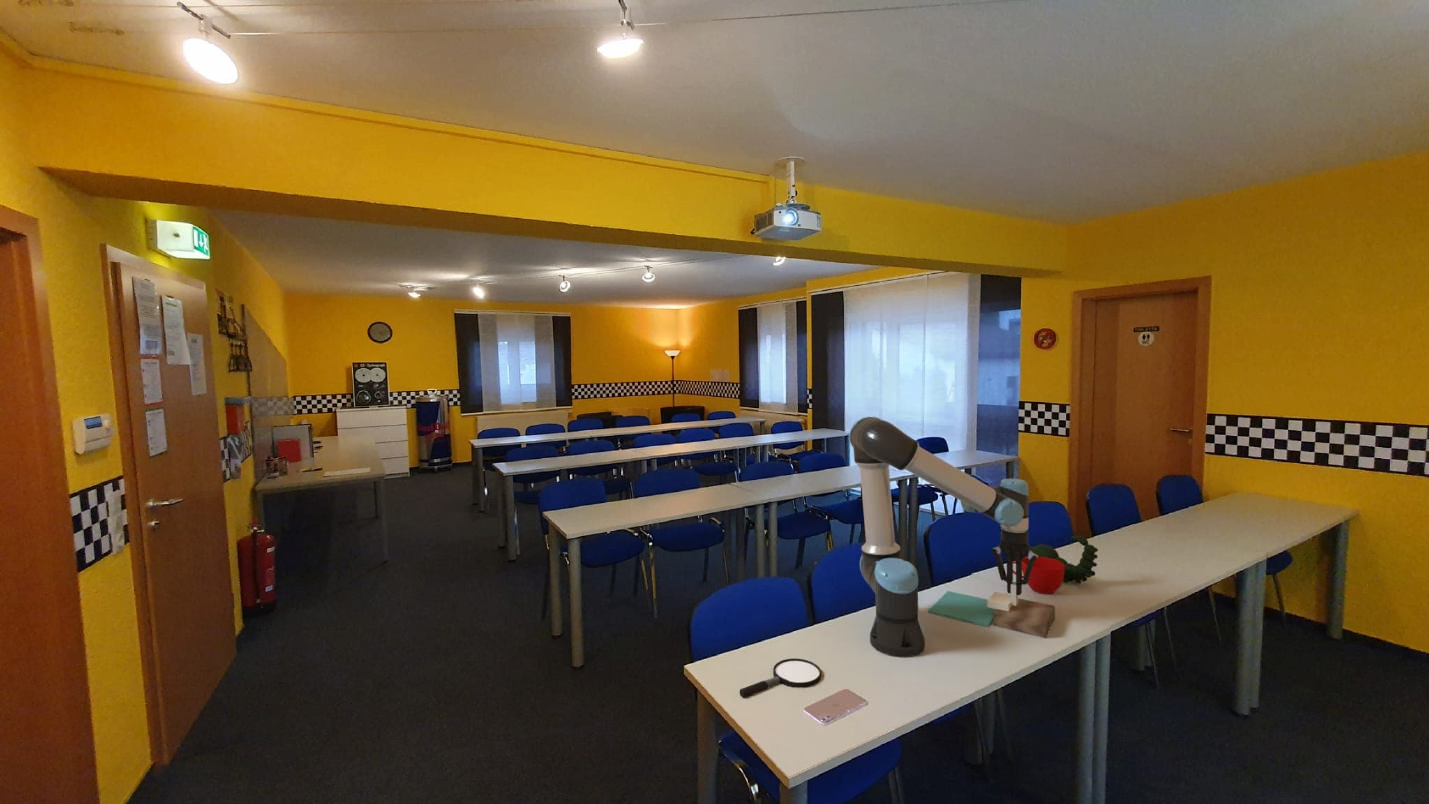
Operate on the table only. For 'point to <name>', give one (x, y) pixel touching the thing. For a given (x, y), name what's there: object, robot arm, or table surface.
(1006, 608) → the tile
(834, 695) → the mobile phone
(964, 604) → the mat
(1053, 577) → the ceramic cup
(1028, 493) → the robot arm
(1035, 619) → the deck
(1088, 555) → the toy figurine
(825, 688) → the table surface
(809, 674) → the magnifying glass
